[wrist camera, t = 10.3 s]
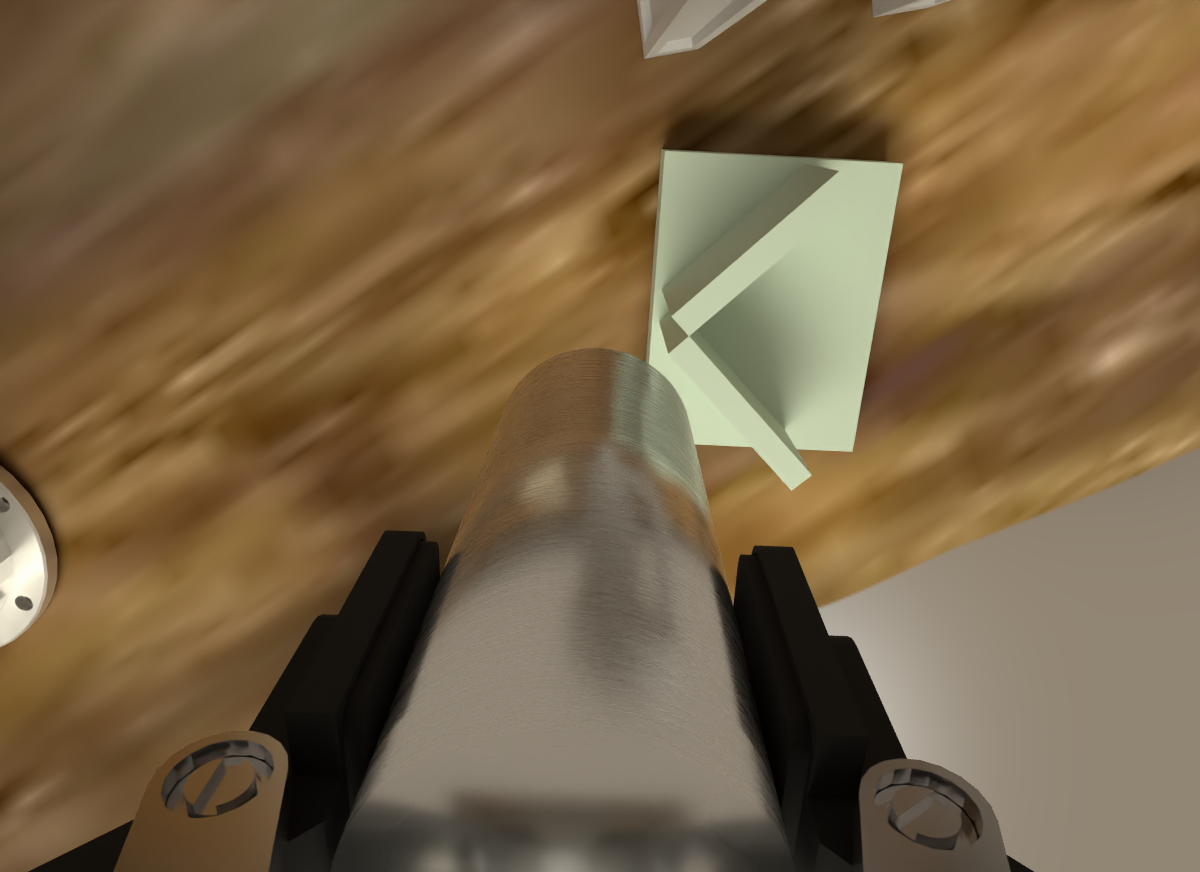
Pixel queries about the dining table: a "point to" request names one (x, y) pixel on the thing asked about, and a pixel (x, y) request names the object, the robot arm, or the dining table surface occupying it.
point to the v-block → (769, 296)
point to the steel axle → (577, 659)
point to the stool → (717, 20)
